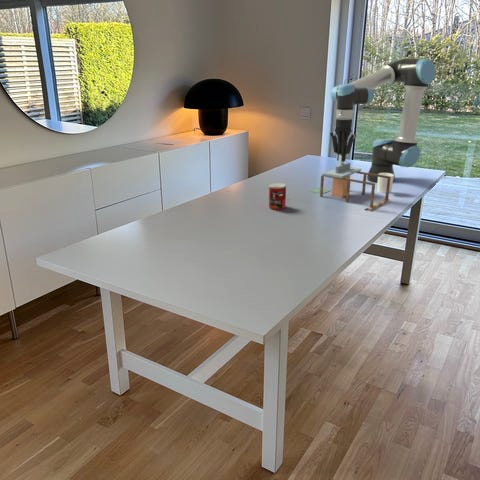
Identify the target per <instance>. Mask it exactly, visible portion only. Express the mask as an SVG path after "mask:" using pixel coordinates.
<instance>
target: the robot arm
mask: <svg viewBox="0 0 480 480" xmlns="http://www.w3.org/2000/svg"><path fill="white" fill-rule="evenodd" d="M436 71H437V70H436V66H435V64H434V61H432V60H431V59H428V58H424V57H423V58H422V57H421V58H401V59H398V60H396V61H393V62H390V63H388V64H386V65H384V66H382V68H381V69H380V70H377V71H375V72H372V73H370V74H368V75H365V76H363V77H361V78H359V79H356V80H354V81H351V82H349V83H342V84H339V85H336V86H334V87H333V88H332V89H331V91H330V96H331V99H332V100H333V102H336V116H335V117H336V119H335V129H334V130H333V131H332V132H329V133H330V137H331V140H332V147H333V153H335V154H337V157H336V160H337V162H338V163H337V166H340V165H343V164H345V162H346V159H347V157H346V155H349V154H350V153H351V150H352V147H353V143H354V140H355V138H356V137H357V134H355V133H353V130H352V126H353V117H354V116H353V112H354V106H356V105H366V104H371V103H372V102H373V101H374V98H375V92H374V89H377V88H379V87H382V86H384V85H391V84H393V83H403V87H404V89H405V95H404V101H403V107H402V111H401V118H400V124H399V128H398V129H399V130H398V133H397V134H398V136H397V137H396V138H379V139H375V140H374V141H373V145H372V155H371V156H372V157H371V166H370V168H369V170H368V172H367V173H372V174H379V173H391V174H394V179H393V182H395V179H396V177H395V171H394V165H395V166H400V168H411V167H413V166H414V165H415V164H416V163H417V162H418V160H419V159H420V156H421V150H420V147H419V146H417V145H418V140H416V135H417V129H418V124H419V118H420V113H421V108H422V102H423V97H424V93H425V92H424V91H426V89H428V87H429V84H432V82H433V80H434V79H435V77H436ZM366 181H368V182H371V183H377V182H378V177H376V176H371V175H366Z"/></svg>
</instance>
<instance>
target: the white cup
mask: <svg viewBox="0 0 480 480" xmlns="http://www.w3.org/2000/svg"><path fill="white" fill-rule="evenodd" d="M378 175H384V176H390V177H391V179H390V187H389V194H391V193H392V189H393V184H394V181H393V179H394V175H395V173H394V174H391V173H379V174H378ZM387 180H388V178H382V177H378V182H376V183H377V185H376V186H377V187H376V188H377V192H378V193H381V194H386V189H387Z"/></svg>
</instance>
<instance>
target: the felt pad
mask: <svg viewBox="0 0 480 480" xmlns="http://www.w3.org/2000/svg"><path fill="white" fill-rule="evenodd" d="M308 192H311V193H315V194H319V195H320V187H316V188H313V189H310V190H308ZM328 192H332V189H331V190H330V189H326V188H323V195H324V194H326V193H328Z"/></svg>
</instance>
